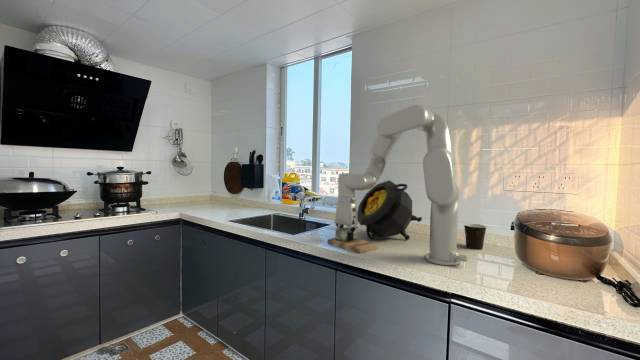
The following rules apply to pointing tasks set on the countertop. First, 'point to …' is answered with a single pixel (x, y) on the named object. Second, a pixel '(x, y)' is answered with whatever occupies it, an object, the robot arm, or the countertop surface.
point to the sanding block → (344, 234)
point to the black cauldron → (386, 210)
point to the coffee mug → (474, 236)
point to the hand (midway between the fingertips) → (345, 239)
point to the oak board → (355, 245)
